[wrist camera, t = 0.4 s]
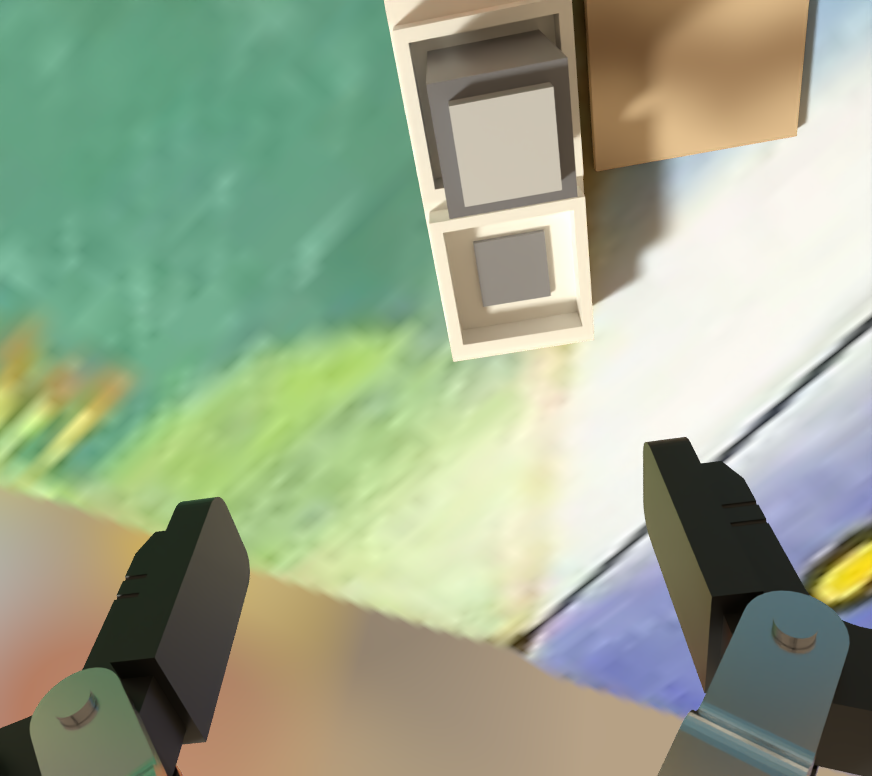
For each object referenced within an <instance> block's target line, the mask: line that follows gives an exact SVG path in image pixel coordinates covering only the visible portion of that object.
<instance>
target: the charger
mask: <svg viewBox="0 0 872 776" xmlns="http://www.w3.org/2000/svg"><path fill="white" fill-rule="evenodd" d="M426 87H427V93H428V99H429V104H430V110H431V116H432V121H433V127H434V133H435V139H436V144H437V150H438V156H439V162H440V167H441V173H442V179H443V185H444V190H445V196H446V202H447V208H448V213H449V219H454V218H459V217H465V216H471V215H477V214H482V213H488V212H494V211H500V210H505V209H511V208H517V207H523V206H528V205H534V204H540V203H545V202H551V201H557V200H563V199H568V198H574V197H578V194H577V181H576V167H575V153H574V139H573V125H572V112H571V98H570V84H569V70H568V57H567V56H566V55H565V54H564V53H563V52H561V51H560V50H559V49H558V48H557V47H556V46H555V45H554V44H553V43H552V42H551V41H550V40H549V39H548V38H547V37H546V36H545V35H544V34H543V33H542V32H541V31H540V30H539V29H538V30H533V31H528V32H523V33H518V34H513V35H508V36H503V37H498V38H493V39H488V40H482V41H477V42H472V43H467V44H462V45H457V46H452V47H447V48H442V49H437V50H432V51H427V73H426Z"/></svg>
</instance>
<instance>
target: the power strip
mask: <svg viewBox="0 0 872 776" xmlns="http://www.w3.org/2000/svg"><path fill="white" fill-rule="evenodd" d="M384 3H385V9H386V14H387V19H388V24H389V29H390V35H391V40H392V45H393V50H394V55H395V61H396V66H397V71H398V76H399V81H400V86H401V92H402V97H403V102H404V107H405V112H406V118H407V123H408V128H409V133H410V138H411V144H412V149H413V154H414V159H415V164H416V170H417V175H418V180H419V185H420V190H421V195H422V201H423V206H424V211H425V216H426V221H427V227H428V232H429V237H430V242H431V247H432V253H433V258H434V263H435V268H436V273H437V279H438V284H439V289H440V294H441V299H442V304H443V310H444V315H445V320H446V325H447V330H448V336H449V341H450V346H451V351H452V356H453V362H455V361H462V360H468V359H474V358H481V357H487V356H494V355H500V354H506V353H513V352H519V351H526V350H532V349H539V348H545V347H551V346H558V345H564V344H571V343H577V342H583V341H590V340H594V324H593V309H592V294H591V279H590V264H589V249H588V234H587V219H586V204H585V196H584V186H583V160H582V145H581V130H580V115H579V100H578V85H577V70H576V55H575V40H574V25H573V10H572V0H384ZM538 29H539V30H540V31H541V32H542V33H543V34H544V35H545V36H546V37H547V38H548V39H549V40H550V41H551V42H552V43H553V44H554V45H555V46H556V47H557V48H558V49H559V50H560V51H561V52H563V53H564V54H565V55H566V56H567V57H568V70H569V84H570V98H571V112H572V125H573V139H574V153H575V167H576V181H577V194H578V197H574V198H568V199H563V200H557V201H551V202H545V203H540V204H534V205H528V206H523V207H517V208H511V209H505V210H500V211H494V212H488V213H482V214H477V215H471V216H465V217H459V218H454V219H449V213H448V208H447V202H446V196H445V190H444V185H443V179H442V173H441V167H440V162H439V156H438V150H437V144H436V139H435V133H434V127H433V121H432V116H431V110H430V104H429V99H428V93H427V87H426V73H427V51H432V50H437V49H442V48H447V47H452V46H457V45H462V44H467V43H472V42H477V41H482V40H488V39H493V38H498V37H503V36H508V35H513V34H518V33H523V32H528V31H533V30H538Z"/></svg>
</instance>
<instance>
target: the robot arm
mask: <svg viewBox="0 0 872 776" xmlns="http://www.w3.org/2000/svg"><path fill="white" fill-rule="evenodd" d="M643 503H644V514H645V521H646V526H647V530H648V534H649V537H650V540H651V543H652V546H653V549H654V551H655V554H656V557H657V560H658V563H659V566H660V568H661V571H662V574H663V577H664V580H665V583H666V585H667V588H668V591H669V594H670V597H671V600H672V602H673V605H674V608H675V611H676V614H677V617H678V619H679V622H680V625H681V628H682V631H683V634H684V636H685V639H686V642H687V645H688V648H689V651H690V653H691V656H692V659H693V662H694V665H695V668H696V670H697V673H698V676H699V679H700V682H701V685H702V687H703V690H704V693H706V695H705V697H704V699H703V701H702V703H701V705H700V707H699V709H698V710H697V711H694V710H691V711H690V712H689V713H688V714H687V716H686V717H685V719H684V721H683V723H682V725H681V727H680V729H679V731H678V733H677V735H676V737H675V739H674V741H673V743H672V746H671V748H670V750H669V752H668V754H667V757H666V758H665V761H664V763H663V765H662V767H661V769H660V771H659V773H658V776H816V775H817V772H818V769H819V766H821V767H825V768H830V769H834V770H839V771H843V772H848V773H852V774H857V775H861V776H872V629H868V628H863V627H859V626H856V625H853V624H850V623H848V622H845V621H843V620H841V618H840V617H839V616H838V615H837V614H836V613H835V612H834V611H833V610H832V609H831V608H830V607H828V606H827V605H826V604H824V603H823V602H821V601H819V600H817V599H815V598H813V597H811V596H810V595H809V594H808V592H807V591H806V589H805V588H804V586H803V584H802V582H801V581H800V579H799V577H798V575H797V573H796V572H795V570H794V568H793V566H792V564H791V563H790V561H789V559H788V557H787V555H786V554H785V552H784V550H783V548H782V546H781V545H780V543H779V541H778V539H777V537H776V536H775V534H774V532H773V530H772V528H771V527H770V525H769V523H767V522H766V518H765V516H764V514H763V512H762V510H761V509H760V507H759V505H757V504H756V500H755V498H754V496H753V494H752V493H751V491H750V489H749V487H748V485H747V484H746V482H745V480H744V478H742V477H741V476H740V475H739V474H737V473H736V472H735V471H733V470H732V469H731V468H730V467H728V466H727V465H726V464H724V463H723V462H722V461H717V462H709V463H700V461H699V459H698V457H697V455H696V453H695V451H694V449H693V447H692V445H691V443H690V441H689V439H688V438H687V437H681V438H673V439H666V440H658V441H651V442H645V443H644V447H643ZM249 576H250V567H249V559H248V555H247V552H246V549H245V547H244V544H243V542H242V540H241V538H240V535H239V533H238V531H237V528H236V526H235V524H234V522H233V519H232V517H231V515H230V513H229V510H228V508H227V506H226V504H225V502H224V501H223V499H222V498H220V497H214V498H206V499H199V500H191V501H183V502H180V503H179V504H178V505H177V506H176V508H175V510H174V513H173V515H172V517H171V520H170V522H169V524H168V527H167V529H166V531H159V532H155V533H154V534H153V535H152V536H151V537H150V538H149V540H148V541H147V542H146V543H145V544H144V545H143V546H142V547H141V548H140V549H139V551H138V552H137V553H136V554H135V556H134V558H133V561H132V563H131V565H130V567H129V569H128V571H127V574H126V576H125V577H126V580H125V581H123V583H122V585H121V587H120V589H119V591H118V594H117V600H114V602H113V604H112V606H111V609H110V611H109V613H108V615H107V617H106V620H105V622H104V624H103V626H102V629H101V630H100V633H99V635H98V637H97V639H96V642H95V644H94V646H93V648H92V650H91V652H90V655H89V657H88V659H87V661H86V663H85V665H84V668H83V669H82V671H79V672H77V673H74V674H72V675H70V676H68V677H67V678H65V679H64V680H62V681H61V682H59V683H58V684H57V685H55V686H54V687H53V688H52V689H51V690H50V691H49V692H48V693H47V694H46V695H45V696H44V697H43V699H42V700H41V701H40V703H39V704H38V706H37V707H36V709H35V711H34V713H33V715H32V716H30V717H28V718H25V719H23V720H20V721H18V722H15V723H13V724H10V725H8V726H5V727H2V728H0V776H183V774H182V772H181V770H180V769H179V767H178V766H177V764H176V763H177V760H178V756H179V753H180V749H181V746H182V744H191V743H201V742H206V740H207V737H208V733H209V729H210V725H211V722H212V718H213V714H214V711H215V707H216V703H217V700H218V696H219V692H220V688H221V685H222V681H223V677H224V674H225V670H226V666H227V662H228V659H229V655H230V651H231V647H232V644H233V640H234V636H235V633H236V629H237V625H238V622H239V618H240V614H241V610H242V606H243V603H244V599H245V595H246V592H247V588H248V584H249Z"/></svg>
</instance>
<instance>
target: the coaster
mask: <svg viewBox="0 0 872 776" xmlns="http://www.w3.org/2000/svg"><path fill="white" fill-rule="evenodd" d="M808 7H809V0H584V9H585V26H586V43H587V60H588V77H589V94H590V111H591V128H592V145H593V162H594V169H595V170H596V172H597V171H603V170H608V169H614V168H619V167H625V166H631V165H636V164H642V163H648V162H653V161H659V160H665V159H670V158H676V157H682V156H687V155H693V154H698V153H704V152H710V151H715V150H721V149H727V148H732V147H738V146H744V145H749V144H755V143H761V142H766V141H772V140H777V139H783V138H789V137H794V136H797V127H798V116H799V105H800V94H801V83H802V72H803V61H804V50H805V39H806V29H807V18H808Z"/></svg>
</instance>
